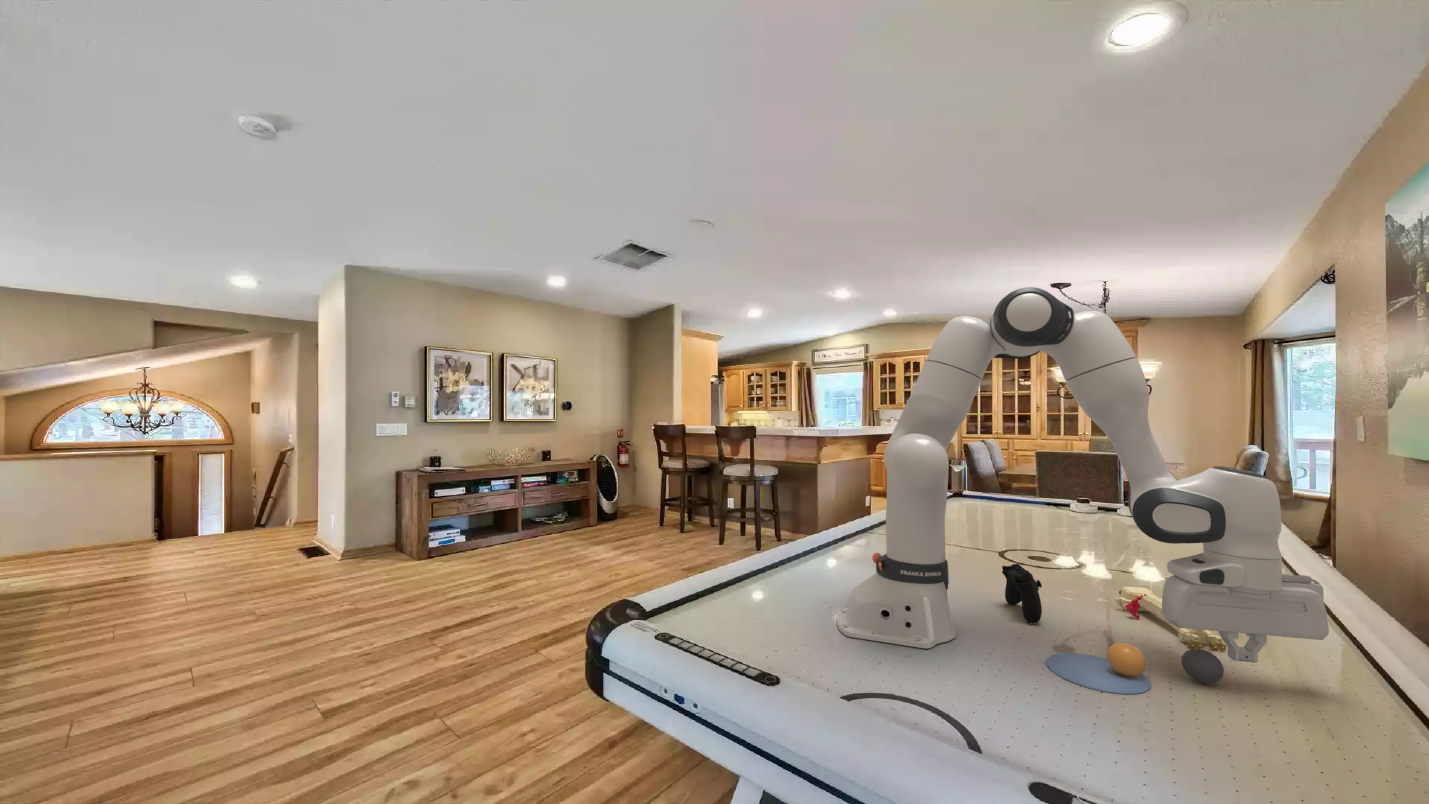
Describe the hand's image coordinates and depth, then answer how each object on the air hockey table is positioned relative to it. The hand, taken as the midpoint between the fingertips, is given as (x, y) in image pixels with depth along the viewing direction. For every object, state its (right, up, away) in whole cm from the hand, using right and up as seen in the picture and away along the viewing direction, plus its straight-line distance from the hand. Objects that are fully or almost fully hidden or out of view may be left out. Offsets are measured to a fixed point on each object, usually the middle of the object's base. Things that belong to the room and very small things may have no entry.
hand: (1242, 660), depth 83 cm
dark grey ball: (-5, -2, +1) cm, 6 cm away
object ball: (-16, -2, +3) cm, 16 cm away
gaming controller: (-16, -5, +31) cm, 35 cm away
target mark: (-20, -4, +4) cm, 21 cm away
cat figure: (+9, -5, +25) cm, 27 cm away
